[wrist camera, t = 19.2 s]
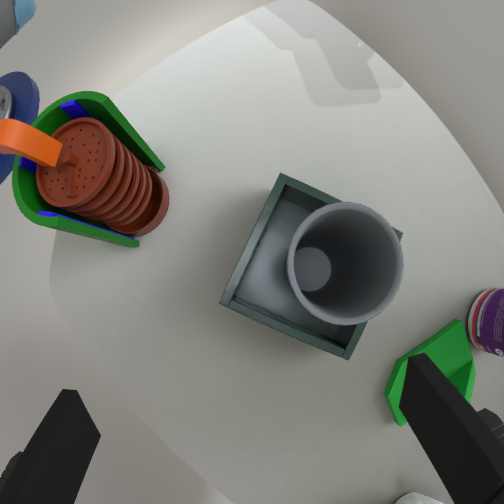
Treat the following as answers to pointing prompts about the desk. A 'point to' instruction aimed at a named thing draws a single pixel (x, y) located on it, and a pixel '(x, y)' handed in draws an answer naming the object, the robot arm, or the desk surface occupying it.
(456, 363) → the bracket
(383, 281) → the cup
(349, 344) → the holder
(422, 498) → the mug
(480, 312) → the pill bottle
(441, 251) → the desk surface
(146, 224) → the coaster caddy
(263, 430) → the desk surface
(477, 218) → the desk surface
